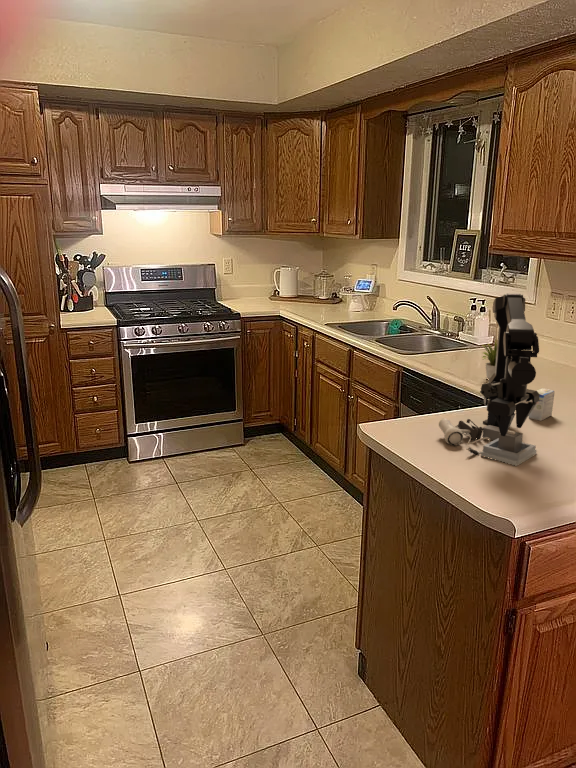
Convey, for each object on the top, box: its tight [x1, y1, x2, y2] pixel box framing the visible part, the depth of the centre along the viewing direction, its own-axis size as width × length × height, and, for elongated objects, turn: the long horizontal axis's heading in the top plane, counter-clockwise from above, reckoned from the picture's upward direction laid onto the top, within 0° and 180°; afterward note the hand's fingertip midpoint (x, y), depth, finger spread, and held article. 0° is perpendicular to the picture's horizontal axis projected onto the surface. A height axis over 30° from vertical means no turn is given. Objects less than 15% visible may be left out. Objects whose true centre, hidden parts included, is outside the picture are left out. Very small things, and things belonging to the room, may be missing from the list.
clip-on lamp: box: [438, 417, 491, 455], centre depth 172 cm, size 12×6×18 cm
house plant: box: [481, 339, 497, 379], centre depth 240 cm, size 14×14×16 cm
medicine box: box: [528, 387, 555, 422], centre depth 195 cm, size 8×4×9 cm, turn 135°
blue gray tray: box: [480, 438, 538, 467], centre depth 164 cm, size 12×10×3 cm
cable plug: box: [482, 424, 500, 441], centre depth 175 cm, size 4×7×4 cm, turn 44°
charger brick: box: [498, 429, 524, 453], centre depth 163 cm, size 4×4×6 cm
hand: (511, 431), depth 162 cm, fingers open, 9 cm apart
